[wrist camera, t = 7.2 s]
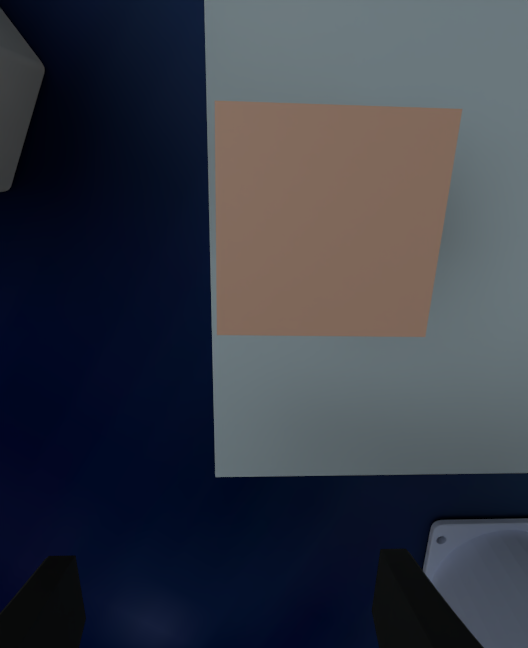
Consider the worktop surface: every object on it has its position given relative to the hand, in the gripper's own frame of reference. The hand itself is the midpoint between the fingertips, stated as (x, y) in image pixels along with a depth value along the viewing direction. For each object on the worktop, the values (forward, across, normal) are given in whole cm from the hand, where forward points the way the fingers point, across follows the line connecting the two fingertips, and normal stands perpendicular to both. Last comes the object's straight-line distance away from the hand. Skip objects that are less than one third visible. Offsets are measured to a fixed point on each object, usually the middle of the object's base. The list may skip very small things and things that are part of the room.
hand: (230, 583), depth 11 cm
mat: (+10, -7, -5) cm, 13 cm away
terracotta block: (+6, -2, -8) cm, 10 cm away
